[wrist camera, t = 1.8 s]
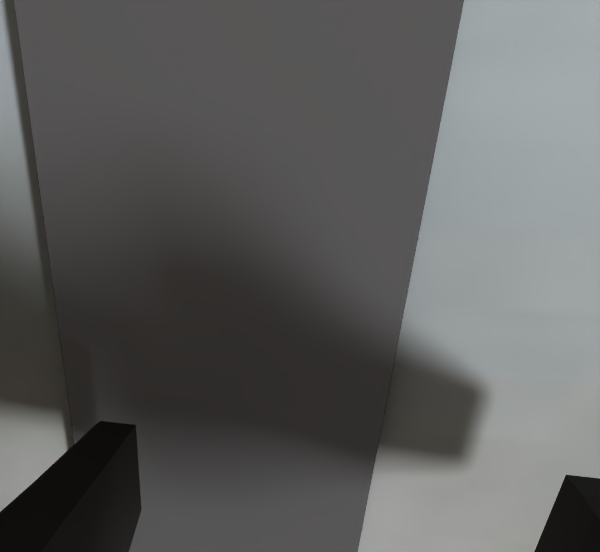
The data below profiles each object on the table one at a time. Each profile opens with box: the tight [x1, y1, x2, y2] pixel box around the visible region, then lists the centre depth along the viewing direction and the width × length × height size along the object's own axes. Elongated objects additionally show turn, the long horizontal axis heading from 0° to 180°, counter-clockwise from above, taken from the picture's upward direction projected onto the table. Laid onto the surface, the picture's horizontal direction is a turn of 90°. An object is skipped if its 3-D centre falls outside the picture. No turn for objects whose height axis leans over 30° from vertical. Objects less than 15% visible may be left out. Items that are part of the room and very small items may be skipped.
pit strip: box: [14, 0, 464, 552], centre depth 11 cm, size 18×6×1 cm, turn 175°
